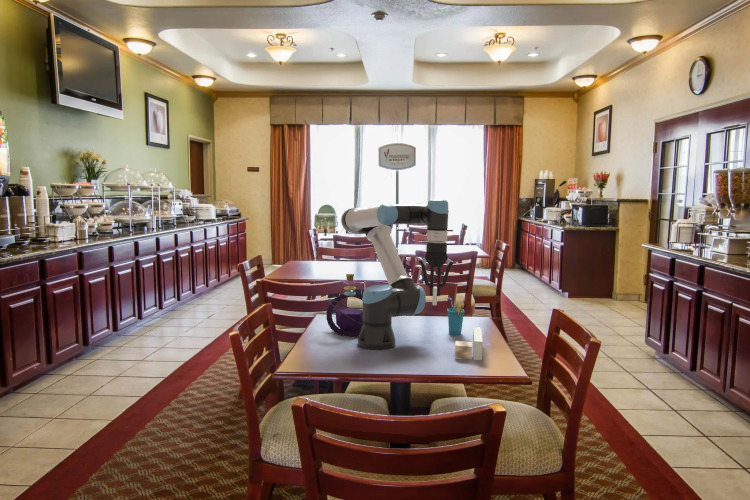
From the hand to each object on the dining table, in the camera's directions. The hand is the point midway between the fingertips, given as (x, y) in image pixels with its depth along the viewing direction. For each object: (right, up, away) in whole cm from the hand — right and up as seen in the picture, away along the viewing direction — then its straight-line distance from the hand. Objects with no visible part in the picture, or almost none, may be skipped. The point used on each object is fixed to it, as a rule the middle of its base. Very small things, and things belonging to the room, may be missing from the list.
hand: (434, 304), depth 190 cm
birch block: (+11, -20, 0) cm, 22 cm away
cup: (+12, -16, +31) cm, 37 cm away
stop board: (+17, -19, +6) cm, 26 cm away
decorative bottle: (-33, -15, +32) cm, 49 cm away
